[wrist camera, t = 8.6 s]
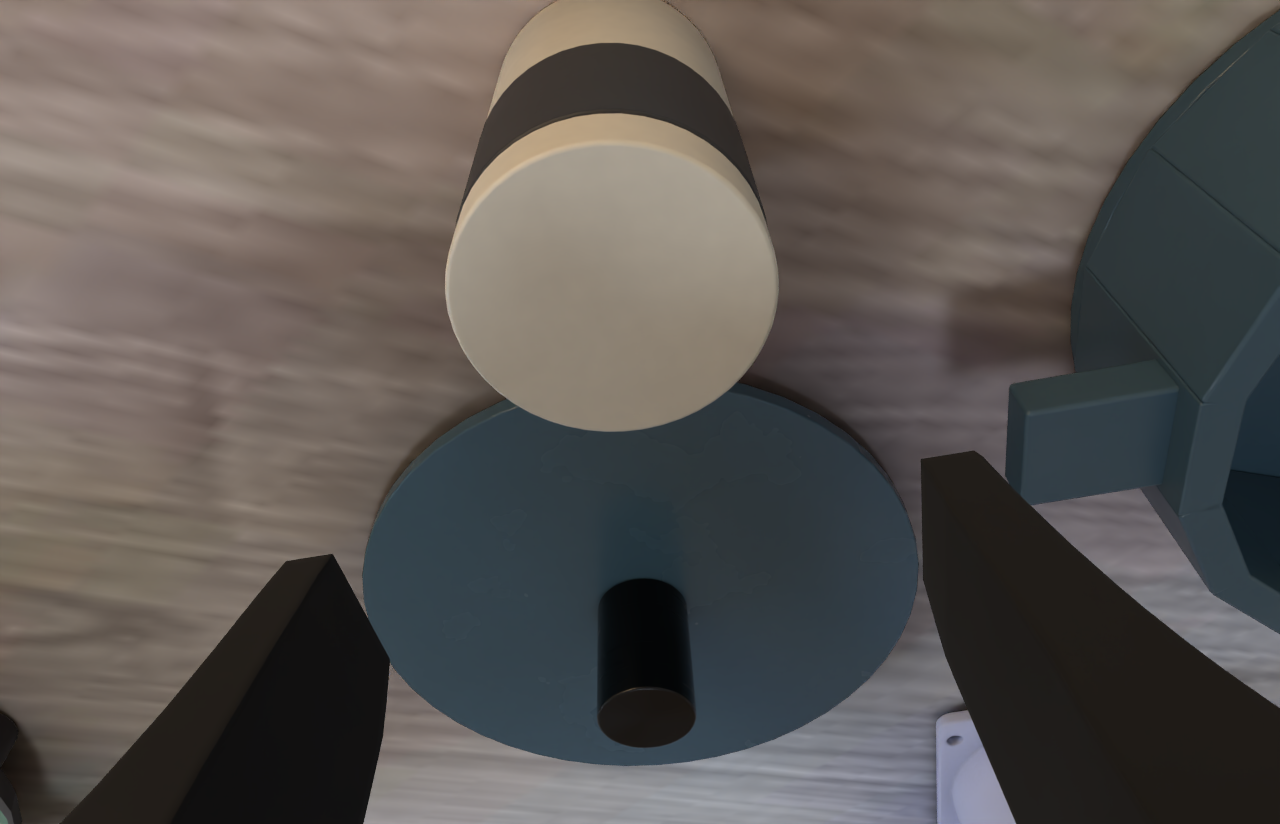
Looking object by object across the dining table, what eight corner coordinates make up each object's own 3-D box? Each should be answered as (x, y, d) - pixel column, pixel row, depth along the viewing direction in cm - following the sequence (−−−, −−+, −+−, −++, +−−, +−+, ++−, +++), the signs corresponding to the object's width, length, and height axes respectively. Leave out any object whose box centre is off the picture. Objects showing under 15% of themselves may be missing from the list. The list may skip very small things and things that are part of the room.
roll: (738, 189, 20) (796, 405, 14) (530, 231, 20) (497, 457, 14) (705, -38, 17) (761, 105, 11) (466, 13, 17) (393, 179, 11)
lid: (914, 699, 30) (957, 838, 26) (465, 763, 32) (446, 903, 28) (900, 304, 21) (961, 429, 18) (278, 417, 23) (216, 554, 19)
